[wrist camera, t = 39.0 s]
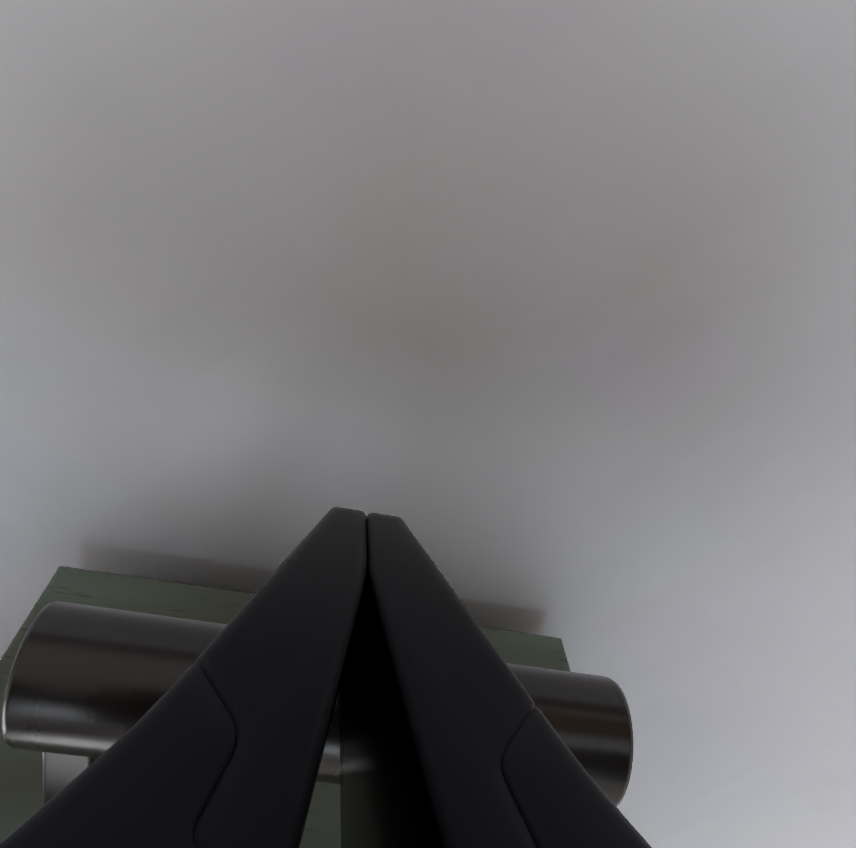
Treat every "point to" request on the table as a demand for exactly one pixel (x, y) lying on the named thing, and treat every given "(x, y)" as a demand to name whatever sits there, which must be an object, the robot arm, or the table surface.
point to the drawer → (178, 649)
